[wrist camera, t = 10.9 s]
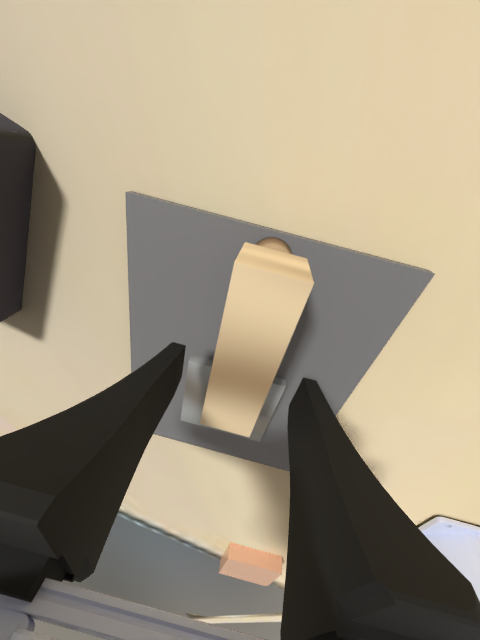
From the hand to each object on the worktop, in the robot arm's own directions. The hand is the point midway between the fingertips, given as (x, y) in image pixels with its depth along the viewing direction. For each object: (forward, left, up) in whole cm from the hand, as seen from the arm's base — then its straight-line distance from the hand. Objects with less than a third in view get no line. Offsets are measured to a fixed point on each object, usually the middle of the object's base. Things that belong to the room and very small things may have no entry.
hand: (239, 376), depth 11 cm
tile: (-9, +33, -3) cm, 34 cm away
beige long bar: (0, +1, -3) cm, 3 cm away
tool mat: (0, +3, -3) cm, 5 cm away
